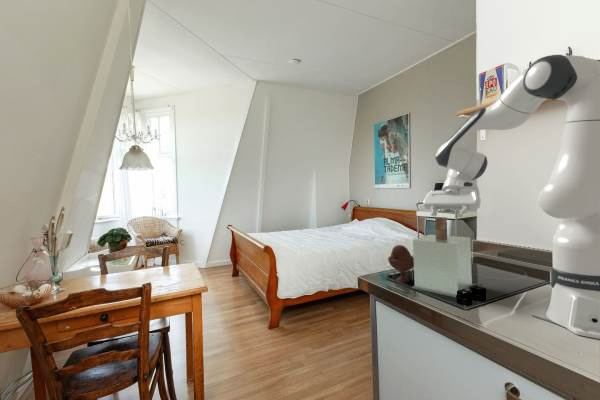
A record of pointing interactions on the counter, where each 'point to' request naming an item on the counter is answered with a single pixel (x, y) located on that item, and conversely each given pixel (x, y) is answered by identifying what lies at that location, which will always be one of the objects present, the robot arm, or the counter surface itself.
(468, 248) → the cover
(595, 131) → the robot arm
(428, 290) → the mat
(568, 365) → the counter surface
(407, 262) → the ice cream bowl
